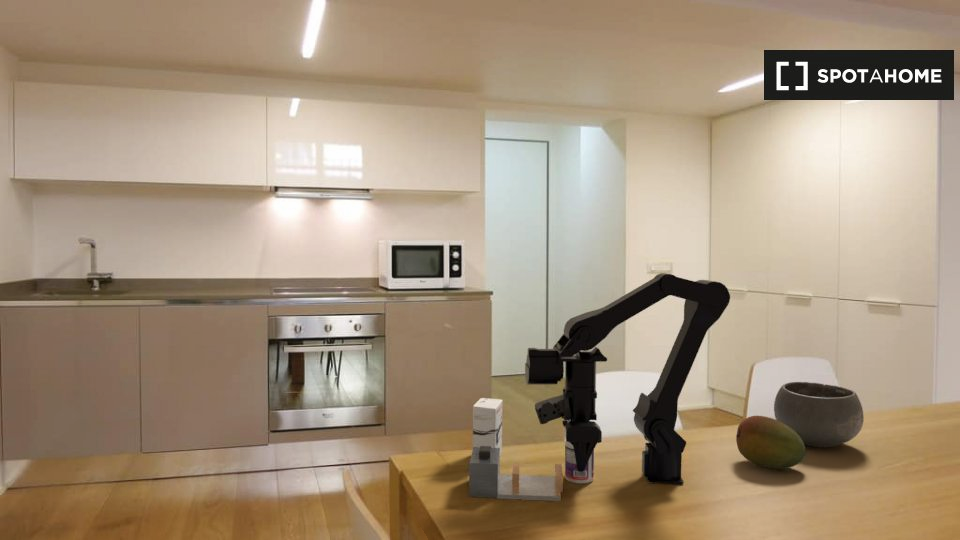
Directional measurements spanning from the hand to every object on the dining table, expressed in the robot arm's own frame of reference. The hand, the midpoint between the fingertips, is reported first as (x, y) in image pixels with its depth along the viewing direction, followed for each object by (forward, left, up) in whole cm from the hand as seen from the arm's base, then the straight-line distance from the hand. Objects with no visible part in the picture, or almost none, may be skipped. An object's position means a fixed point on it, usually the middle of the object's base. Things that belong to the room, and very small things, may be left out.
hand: (579, 466), depth 125 cm
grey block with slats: (+12, +6, -3) cm, 13 cm away
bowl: (-55, -27, -3) cm, 61 cm away
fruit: (-39, -11, -3) cm, 41 cm away
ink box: (+18, -10, -3) cm, 21 cm away
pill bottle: (0, 0, -3) cm, 3 cm away
